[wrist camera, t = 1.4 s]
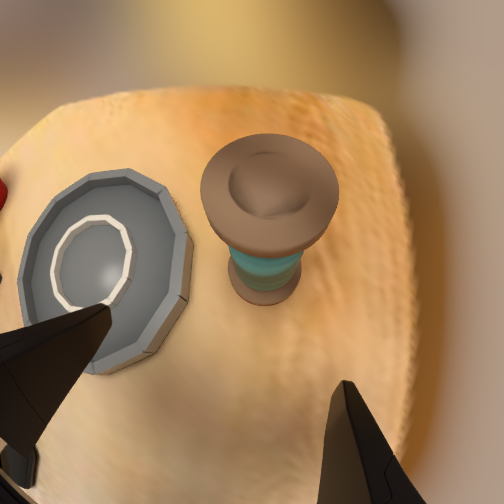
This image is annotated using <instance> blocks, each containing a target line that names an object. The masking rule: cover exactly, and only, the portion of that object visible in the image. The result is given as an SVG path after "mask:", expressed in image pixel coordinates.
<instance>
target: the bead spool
mask: <svg viewBox="0 0 504 504" xmlns="http://www.w3.org/2000/svg"><path fill="white" fill-rule="evenodd" d="M200 193H201V200H202V203H203V207H204V210H205V212H206V215H207V218H208V220H209V223H210V225H211V227H212V228H213V230H214V231H215V233H216V234H217V235H218V236H219V237H220V239H222V240H223V241H224V242H225V243H226V244H227V245H228V246H229V250H230V253H231V256H230V259H229V264H228V273H229V278H230V281H231V283H232V286H233V288H234V289H235V291H236V292H237V294H238V295H239V296H240V297H241V298H243V299H244V300H245V301H247V302H249V303H251V304H254V305H259V306H270V305H275V304H278V303H280V302H282V301H284V300H285V299H287V298H288V297H289V296H290V295H291V294H292V293H293V291H294V290H295V288H296V286H297V284H298V282H299V279H300V276H301V262H300V259H301V256H302V254H303V252H304V250H305V249H307V248H309V247H310V246H312V245H313V244H314V243H315V242H316V241H317V240H319V238H320V237H321V236H322V235H323V234H324V232H325V230H326V229H327V227H328V225H329V223H330V221H331V219H332V217H333V215H334V213H335V211H336V208H337V205H338V200H339V185H338V181H337V177H336V175H335V172H334V170H333V168H332V167H331V165H330V164H329V162H328V161H327V160H326V158H325V157H324V156H323V155H322V154H321V153H320V152H318V151H317V150H316V149H315V148H313V147H312V146H310V145H309V144H307V143H305V142H303V141H301V140H298V139H296V138H293V137H289V136H285V135H279V134H256V135H251V136H246V137H243V138H240V139H238V140H235V141H233V142H231V143H229V144H228V145H226V146H225V147H223V148H222V149H221V150H219V151H218V152H217V153H216V154H215V155H214V156H213V157H212V159H211V160H210V161H209V163H208V164H207V166H206V168H205V170H204V173H203V175H202V179H201V186H200Z"/></svg>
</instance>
